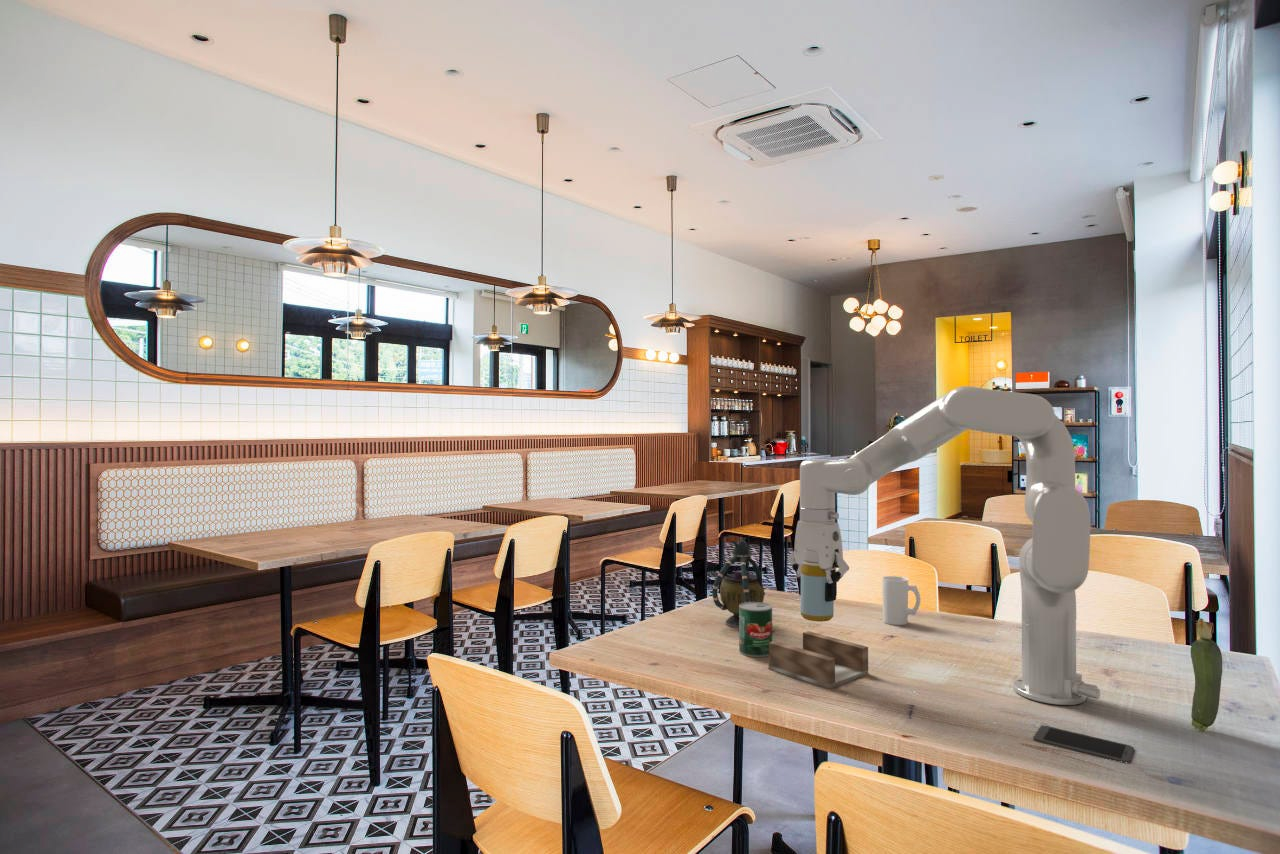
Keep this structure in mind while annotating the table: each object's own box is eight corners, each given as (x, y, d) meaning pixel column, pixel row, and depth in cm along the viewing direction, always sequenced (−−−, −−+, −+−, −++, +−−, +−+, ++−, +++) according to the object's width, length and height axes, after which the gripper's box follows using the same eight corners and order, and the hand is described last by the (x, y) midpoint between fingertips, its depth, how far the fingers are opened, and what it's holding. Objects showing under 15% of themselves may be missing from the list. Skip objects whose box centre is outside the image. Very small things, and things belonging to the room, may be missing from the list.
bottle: (830, 614, 162) (831, 547, 161) (835, 622, 155) (836, 552, 154) (798, 613, 162) (799, 546, 162) (802, 621, 155) (803, 552, 155)
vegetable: (1208, 726, 128) (1208, 614, 128) (1229, 736, 124) (1229, 620, 124) (1184, 726, 128) (1184, 614, 128) (1204, 737, 124) (1204, 621, 124)
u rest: (868, 673, 157) (868, 646, 157) (829, 688, 148) (829, 660, 148) (808, 655, 169) (808, 631, 169) (768, 668, 160) (768, 642, 160)
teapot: (708, 629, 192) (708, 541, 192) (742, 608, 214) (742, 529, 214) (751, 635, 186) (751, 545, 186) (782, 613, 208) (781, 532, 208)
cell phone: (1041, 728, 129) (1041, 724, 129) (1135, 750, 120) (1135, 746, 120) (1031, 742, 123) (1031, 738, 123) (1129, 767, 114) (1129, 762, 114)
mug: (878, 623, 197) (878, 579, 197) (887, 617, 202) (886, 575, 202) (916, 629, 191) (916, 583, 191) (924, 623, 196) (923, 579, 196)
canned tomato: (757, 659, 167) (757, 611, 167) (732, 651, 173) (732, 605, 173) (779, 652, 172) (779, 606, 172) (754, 644, 178) (754, 600, 178)
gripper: (861, 518, 154) (861, 602, 154) (796, 511, 167) (796, 588, 167) (840, 521, 149) (840, 608, 149) (775, 513, 163) (775, 593, 163)
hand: (817, 597), depth 158 cm, fingers closed on bottle, 6 cm apart
